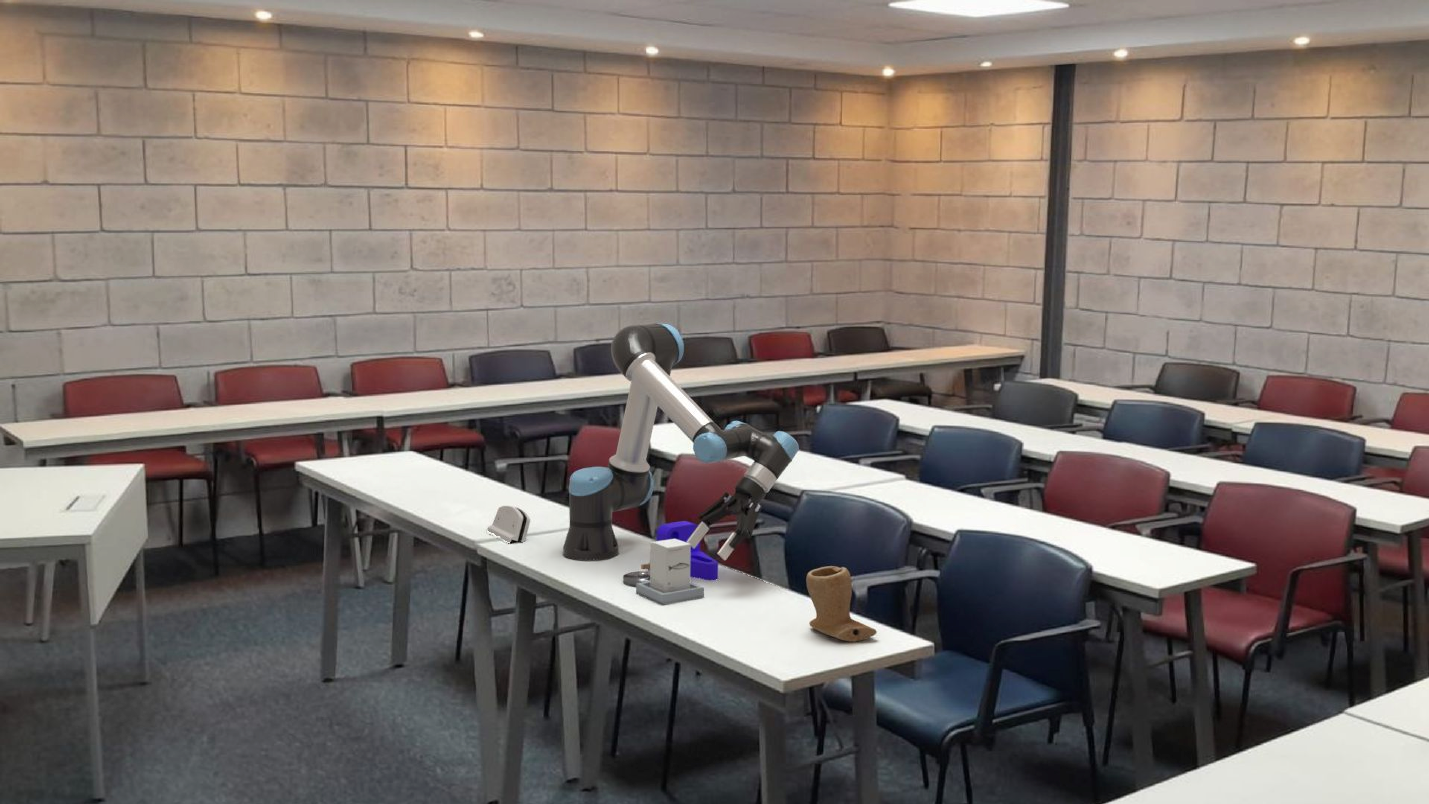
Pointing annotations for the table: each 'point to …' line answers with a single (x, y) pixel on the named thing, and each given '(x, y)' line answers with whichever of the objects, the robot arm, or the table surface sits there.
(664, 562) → the supplement box
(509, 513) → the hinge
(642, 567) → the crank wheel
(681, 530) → the bracket
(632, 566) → the table surface
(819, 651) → the table surface
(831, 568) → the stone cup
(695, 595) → the tray
